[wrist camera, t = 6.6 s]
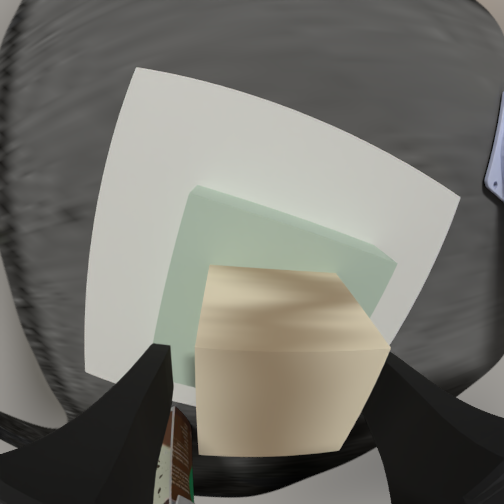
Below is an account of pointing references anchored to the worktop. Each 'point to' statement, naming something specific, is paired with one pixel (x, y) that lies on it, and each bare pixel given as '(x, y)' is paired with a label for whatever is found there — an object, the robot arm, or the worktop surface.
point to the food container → (175, 463)
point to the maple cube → (281, 362)
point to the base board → (244, 166)
